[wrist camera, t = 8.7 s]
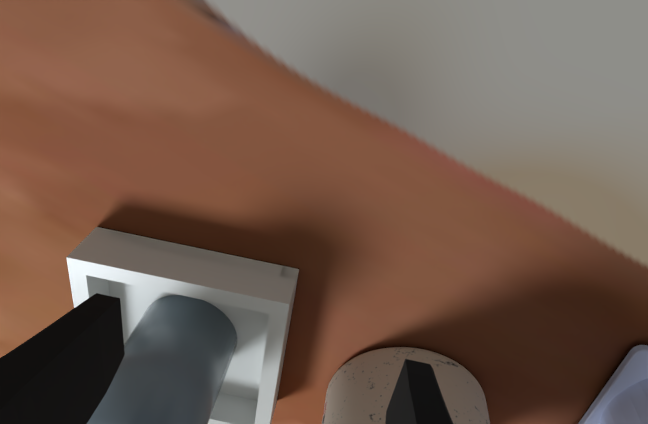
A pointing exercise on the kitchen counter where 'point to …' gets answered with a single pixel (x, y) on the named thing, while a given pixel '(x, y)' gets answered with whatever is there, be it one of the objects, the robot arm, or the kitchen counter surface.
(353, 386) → the teacup with lid
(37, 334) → the robot arm
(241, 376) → the tray
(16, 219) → the kitchen counter surface
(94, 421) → the tumbler
